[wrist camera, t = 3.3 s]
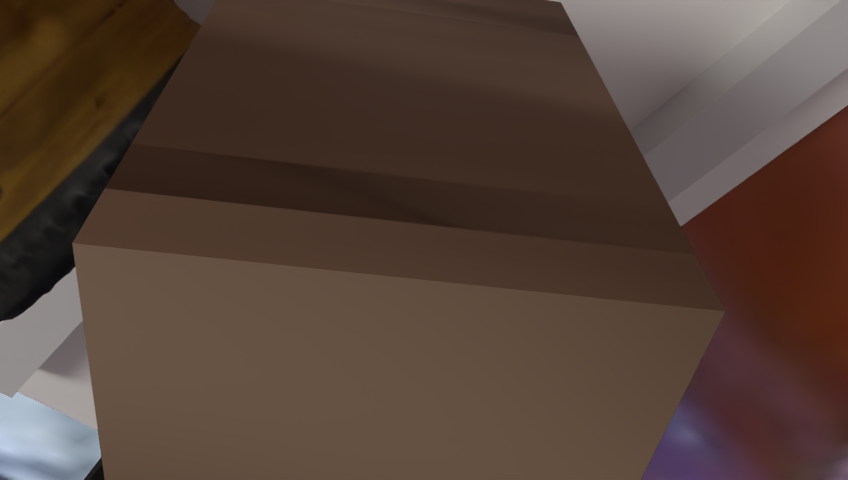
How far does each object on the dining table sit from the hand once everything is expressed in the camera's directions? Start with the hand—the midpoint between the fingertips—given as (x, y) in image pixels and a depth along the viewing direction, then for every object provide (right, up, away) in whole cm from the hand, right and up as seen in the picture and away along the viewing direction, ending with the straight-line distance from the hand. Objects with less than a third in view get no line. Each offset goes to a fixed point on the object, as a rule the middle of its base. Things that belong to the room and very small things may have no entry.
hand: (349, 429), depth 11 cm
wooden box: (0, +1, +2) cm, 2 cm away
